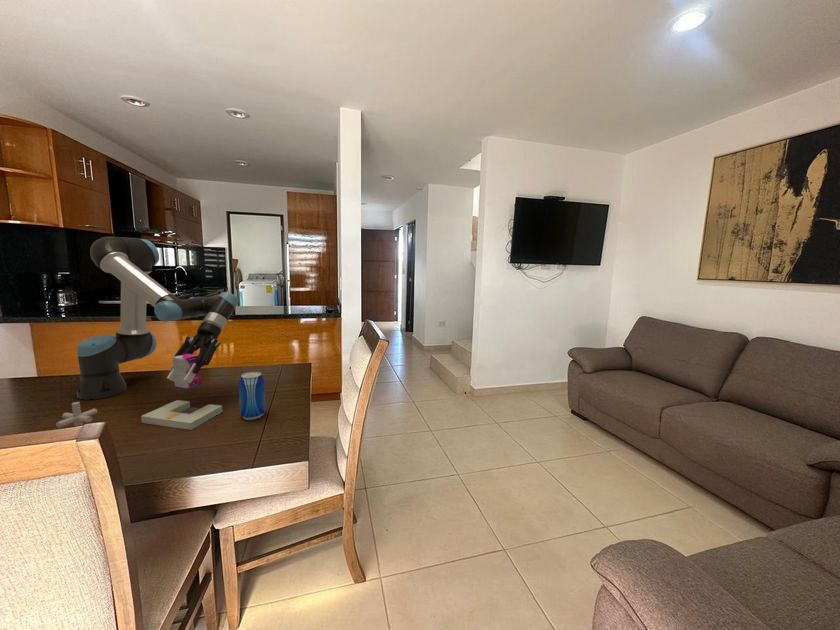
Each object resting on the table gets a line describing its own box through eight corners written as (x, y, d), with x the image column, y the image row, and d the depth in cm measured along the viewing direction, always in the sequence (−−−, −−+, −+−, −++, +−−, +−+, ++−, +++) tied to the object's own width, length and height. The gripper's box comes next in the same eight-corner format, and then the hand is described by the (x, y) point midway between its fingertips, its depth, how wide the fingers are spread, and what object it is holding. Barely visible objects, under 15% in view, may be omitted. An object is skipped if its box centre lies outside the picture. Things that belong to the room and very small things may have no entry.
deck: (177, 406, 130) (177, 399, 130) (222, 412, 126) (222, 405, 126) (141, 422, 116) (140, 415, 116) (191, 430, 113) (190, 422, 112)
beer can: (241, 412, 127) (239, 372, 124) (265, 409, 130) (264, 369, 127) (239, 422, 119) (236, 379, 116) (265, 419, 122) (263, 377, 120)
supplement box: (186, 390, 119) (183, 358, 117) (174, 388, 120) (171, 357, 119) (201, 384, 124) (198, 354, 122) (190, 382, 126) (186, 353, 124)
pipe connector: (72, 442, 103) (68, 411, 102) (48, 437, 105) (43, 407, 104) (108, 426, 113) (105, 398, 112) (85, 422, 115) (81, 395, 113)
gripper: (238, 333, 133) (208, 387, 119) (197, 330, 136) (163, 382, 123) (228, 322, 127) (195, 378, 113) (184, 319, 130) (148, 373, 117)
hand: (178, 380), depth 118 cm, fingers closed on supplement box, 6 cm apart
